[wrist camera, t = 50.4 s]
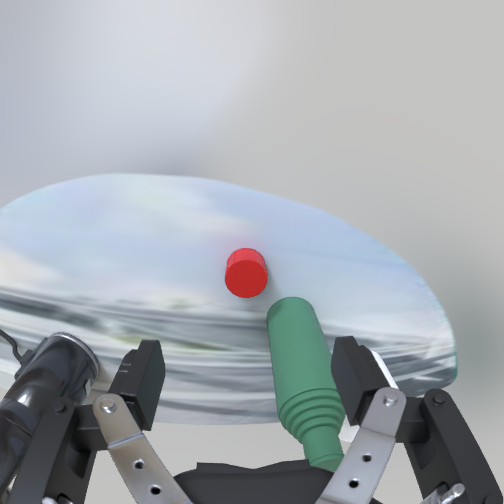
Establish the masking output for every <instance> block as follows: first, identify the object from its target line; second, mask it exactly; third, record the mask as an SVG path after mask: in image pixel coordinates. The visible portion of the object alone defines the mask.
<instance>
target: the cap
mask: <svg viewBox="0 0 504 504" xmlns="http://www.w3.org/2000/svg"><path fill="white" fill-rule="evenodd" d="M225 283H226V286H227V288H228V289H229V290H230V291H231V292H232V293H233V294H234V295H236V296H239V297H242V298H250V297H254V296H256V295H258V294H259V293H261V292H262V291H263V290H264V288H265V286H266V284H267V269H266V265H265V261H264V259H263V256H262V255H261V254H260V253H259V252H257V251H256V250H253V249H250V248H242V249H239V250H237V251H234V252H233V253H232V254H231V256H230V257H229V259H228V261H227V267H226V273H225Z"/></svg>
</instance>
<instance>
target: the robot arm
mask: <svg viewBox="0 0 504 504" xmlns="http://www.w3.org/2000/svg"><path fill="white" fill-rule="evenodd" d="M0 335H1V336H3V337H4V338H5V339H6V340H7V341H8V342H9V343H10V344H11V345H12V346H13V354H14V356H15V357H16V359H17V360H18V361H19V362H20V364H21V367H20V369H19V370H18V371H17V373H16V374H15V380H16V381H15V382H14V384H13V385H12V387H11V388H10V389H9V391H8V392H7V393H6V395H5V396H4V398H3V399H2V401H1V402H0V504H84V501H85V496H86V492H87V488H88V484H89V480H90V476H91V472H92V468H93V464H94V460H95V457H96V453H97V451H100V450H108V451H109V453H110V455H111V457H112V459H113V461H114V463H115V465H116V467H117V469H118V471H119V473H120V475H121V476H122V478H123V480H124V482H125V484H126V486H127V487H128V489H129V491H130V493H131V494H132V496H133V498H134V499H135V501H136V503H137V504H382V503H381V502H379V501H378V500H376V499H374V498H373V497H372V496H373V494H374V492H375V490H376V488H377V486H378V484H379V481H380V479H381V477H382V475H383V472H384V470H385V468H386V465H387V463H388V460H389V458H390V455H391V453H392V450H393V447H394V445H395V443H404V446H405V448H406V451H407V454H408V457H409V459H410V462H411V465H412V467H413V470H414V473H415V476H416V479H417V482H418V485H419V488H420V490H421V494H422V497H423V501H422V502H421V503H420V504H503V496H502V493H501V491H500V489H499V486H498V484H497V482H496V480H495V478H494V475H493V473H492V471H491V469H490V467H489V465H488V463H487V461H486V459H485V457H484V455H483V453H482V451H481V449H480V447H479V445H478V443H477V442H476V440H475V438H474V436H473V434H472V432H471V430H470V429H469V427H468V425H467V423H466V422H465V420H464V418H463V417H462V415H461V413H460V411H459V409H458V408H457V406H456V404H455V403H454V401H453V399H452V398H451V396H450V395H449V394H448V393H447V392H445V391H444V390H441V389H431V390H429V391H427V392H426V393H425V395H424V397H423V398H416V397H406V396H405V395H404V393H403V392H402V391H400V390H399V389H397V388H393V387H391V386H390V384H389V382H388V380H387V378H386V377H385V375H384V373H383V371H382V370H381V368H380V366H379V364H378V362H377V361H376V360H375V357H374V355H373V354H372V352H371V351H370V350H369V349H368V348H366V347H365V346H364V345H361V346H358V344H357V342H356V340H355V339H354V337H353V336H345V337H337V338H336V340H335V344H334V349H333V354H332V359H331V374H332V377H333V380H334V382H335V385H336V388H337V391H338V393H339V396H340V399H341V402H342V404H343V407H344V410H345V413H346V416H347V419H348V421H349V424H350V426H356V425H359V427H360V428H359V429H358V431H357V433H356V435H355V437H354V439H353V441H352V443H351V445H350V447H349V449H348V451H347V453H346V454H345V456H344V458H343V460H342V461H341V463H340V465H339V467H338V468H337V470H336V472H333V471H330V470H328V469H325V468H321V467H317V466H310V463H309V459H304V460H296V461H284V462H279V463H276V464H272V465H268V466H265V467H261V468H257V469H249V468H243V467H238V466H233V465H229V464H224V463H223V464H222V463H198V462H197V468H196V469H194V470H189V471H186V472H183V473H180V474H178V475H176V476H174V477H172V476H171V474H170V473H169V472H168V470H167V469H166V467H165V466H164V464H163V463H162V461H161V460H160V459H159V457H158V455H157V454H156V452H155V451H154V450H153V448H152V446H151V445H150V443H149V442H148V440H147V438H146V437H145V435H144V434H143V433H142V430H146V431H151V427H152V424H153V420H154V416H155V412H156V408H157V405H158V401H159V397H160V393H161V390H162V386H163V383H164V379H165V363H164V359H163V355H162V350H161V345H160V342H159V340H145V339H143V340H142V341H141V343H140V345H139V348H138V350H134V349H132V350H131V351H130V352H129V353H127V354H126V355H125V356H124V359H123V361H122V363H121V365H120V367H119V369H118V371H117V373H116V376H115V378H114V380H113V382H112V384H111V387H110V389H109V391H108V393H107V394H104V395H101V396H100V397H98V398H97V399H96V400H95V401H94V403H93V404H90V405H82V404H83V402H84V400H85V398H86V396H87V398H88V396H89V394H90V392H91V387H92V385H93V383H94V381H95V380H96V379H97V377H98V375H99V370H100V369H99V364H98V361H97V359H96V357H95V356H94V354H93V353H92V352H91V350H90V349H89V348H88V347H87V346H86V345H85V344H84V343H83V342H81V341H80V340H79V339H77V338H75V337H74V336H72V335H69V334H66V333H61V332H58V333H54V334H52V335H51V336H50V337H49V338H44V339H43V340H42V342H41V343H40V344H39V345H38V346H37V348H36V349H35V350H34V351H32V350H27V351H26V353H25V354H24V355H23V356H22V357H21V356H20V355H19V353H18V351H17V344H16V342H15V341H14V340H13V339H12V338H11V337H10V336H8V335H7V334H6V333H5V332H3V331H2V330H1V329H0ZM16 475H17V476H16ZM15 476H16V478H15V481H14V484H13V487H12V489H10V488H9V485H10V483H11V482H12V480H13V479H14V477H15Z"/></svg>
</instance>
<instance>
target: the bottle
mask: <svg viewBox="0 0 504 504" xmlns="http://www.w3.org/2000/svg"><path fill="white" fill-rule="evenodd" d="M267 328H268V336H269V344H270V353H271V361H272V369H273V377H274V386H275V394H276V403H277V411H278V418H279V420H280V421H281V424H282V425H283V427H284V428H285V429H286V430H287V431H288V432H289V433H290V434H292V435H293V437H294V438H296V439H297V440H298V441H299V442H300V443H301V444H303V448H304V454H305V459H309V463H310V466H317V467H321V468H325V469H328V470H330V471H333V472H335V471H336V470H337V468H338V467H339V465H340V463H341V461H342V460H343V458H344V456H345V454H343V450H342V447H341V443H340V440H339V436H338V435H339V434H340V431H341V428H342V426H343V422H344V420H345V417H346V413H345V410H344V407H343V404H342V402H341V399H340V396H339V393H338V391H337V388H336V385H335V382H334V380H333V377H332V374H331V359H332V355H331V353H330V350H329V347H328V345H327V342H326V340H325V337H324V335H323V332H322V330H321V327H320V324H319V322H318V319H317V317H316V314H315V312H314V309H313V307H312V306H311V304H310V303H309V302H307V301H306V300H304V299H302V298H298V297H288V298H284V299H282V300H279V301H278V302H276V303H275V304H274V305H273V306H272V307H271V308H270V310H269V311H268V314H267Z"/></svg>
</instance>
